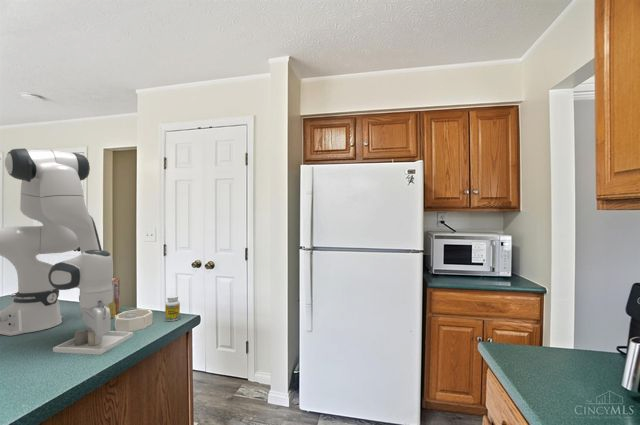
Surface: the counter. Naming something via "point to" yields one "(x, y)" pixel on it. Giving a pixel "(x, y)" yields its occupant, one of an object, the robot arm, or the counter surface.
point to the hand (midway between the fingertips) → (95, 340)
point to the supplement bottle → (172, 308)
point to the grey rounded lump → (130, 315)
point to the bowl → (133, 320)
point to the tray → (107, 343)
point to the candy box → (115, 298)
